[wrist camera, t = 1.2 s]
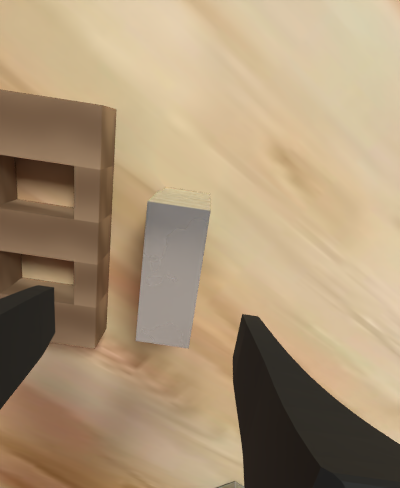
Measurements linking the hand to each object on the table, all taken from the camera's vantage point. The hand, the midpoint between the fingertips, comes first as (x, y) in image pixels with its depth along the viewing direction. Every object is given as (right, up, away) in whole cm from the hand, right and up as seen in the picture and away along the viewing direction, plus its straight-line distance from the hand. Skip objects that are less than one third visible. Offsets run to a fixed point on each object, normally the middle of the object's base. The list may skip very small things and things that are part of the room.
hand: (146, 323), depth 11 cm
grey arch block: (+1, +3, +10) cm, 10 cm away
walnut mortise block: (-8, +4, +10) cm, 13 cm away
